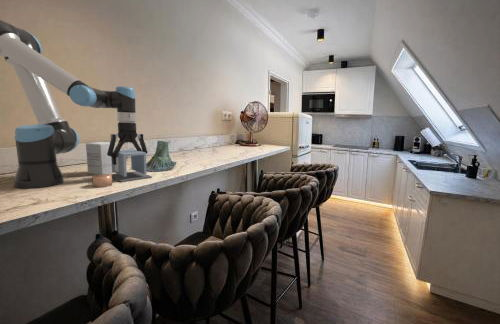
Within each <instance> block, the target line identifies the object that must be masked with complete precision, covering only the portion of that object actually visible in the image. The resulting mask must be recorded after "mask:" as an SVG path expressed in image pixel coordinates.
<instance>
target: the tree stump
mask: <svg viewBox="0 0 500 324" xmlns="http://www.w3.org/2000/svg"><path fill="white" fill-rule="evenodd" d="M169 152H170V151H169V142H168V141H164V140H157V143H156V148H155V153H154V154H153V156H151V159H149V160H148V161H146V168H147V173H157V172H169V171H172V169H173V168H175V167H176V165H177V161H172V158H171V157H170V153H169Z"/></svg>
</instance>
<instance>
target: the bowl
mask: <svg viewBox="0 0 500 324" xmlns="http://www.w3.org/2000/svg"><path fill="white" fill-rule="evenodd" d="M111 174H112V173H109V174H93V175H92V183H93V185H92V186H93V187H95V188H107V187H111V186H112V185H113V179H112V175H111Z"/></svg>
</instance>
